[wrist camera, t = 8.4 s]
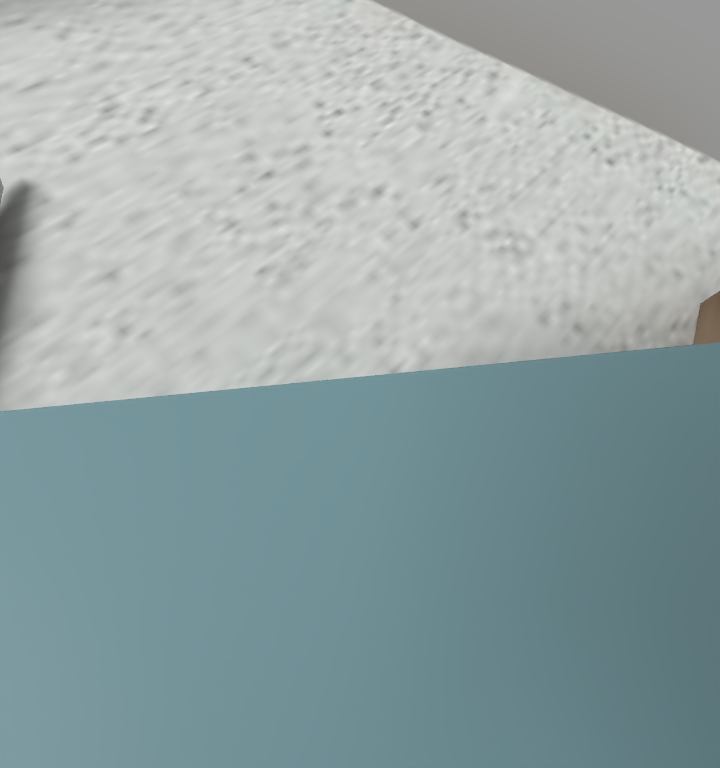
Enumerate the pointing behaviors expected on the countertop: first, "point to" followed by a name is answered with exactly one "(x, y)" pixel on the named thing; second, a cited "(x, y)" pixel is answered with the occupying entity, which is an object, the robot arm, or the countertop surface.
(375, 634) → the pale teal tall slab
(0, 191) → the tool
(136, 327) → the countertop surface
